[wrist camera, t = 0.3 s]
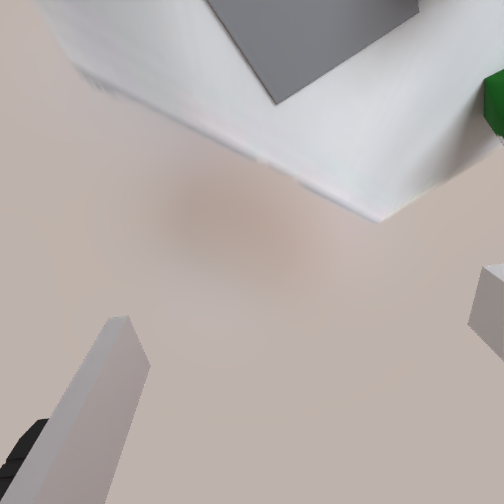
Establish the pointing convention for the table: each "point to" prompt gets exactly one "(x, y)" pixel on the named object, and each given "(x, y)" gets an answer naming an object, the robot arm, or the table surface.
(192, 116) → the table surface
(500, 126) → the milk carton
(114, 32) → the table surface
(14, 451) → the robot arm
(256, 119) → the table surface
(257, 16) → the mat
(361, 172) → the table surface
